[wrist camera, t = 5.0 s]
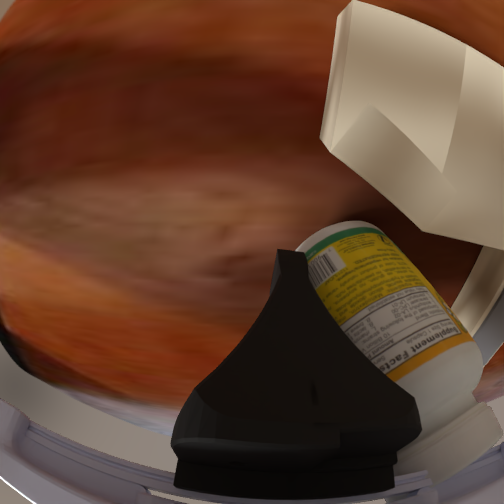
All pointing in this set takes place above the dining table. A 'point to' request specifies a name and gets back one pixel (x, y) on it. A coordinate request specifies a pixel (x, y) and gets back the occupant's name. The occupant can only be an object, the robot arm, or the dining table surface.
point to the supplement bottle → (406, 343)
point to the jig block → (426, 141)
